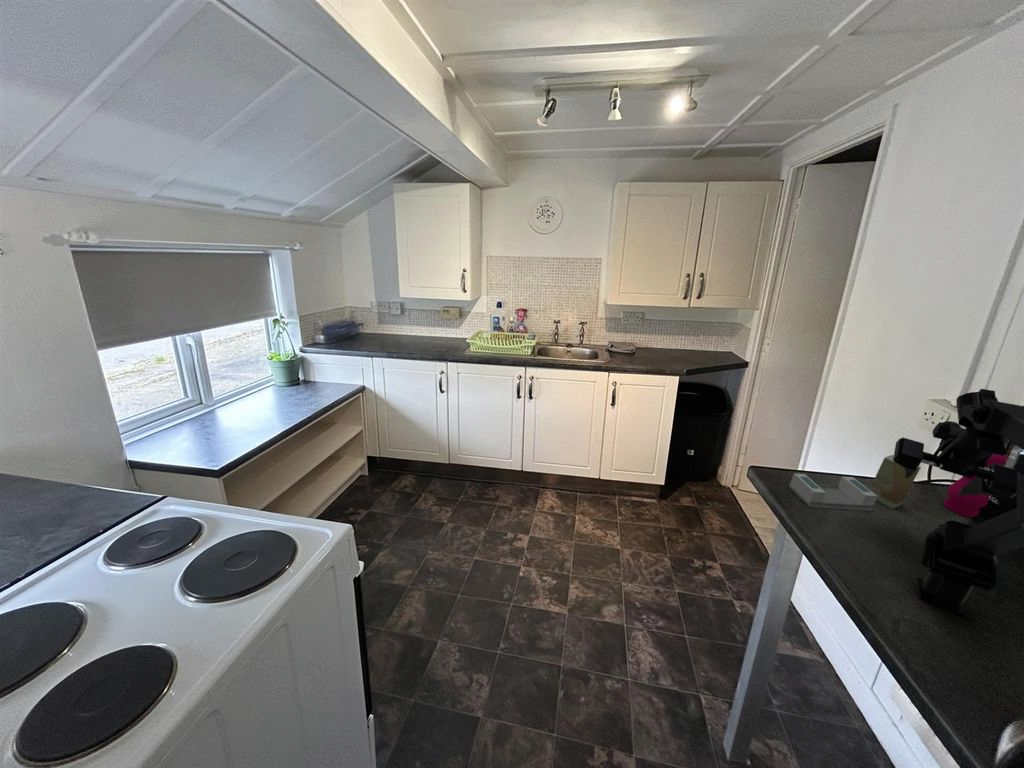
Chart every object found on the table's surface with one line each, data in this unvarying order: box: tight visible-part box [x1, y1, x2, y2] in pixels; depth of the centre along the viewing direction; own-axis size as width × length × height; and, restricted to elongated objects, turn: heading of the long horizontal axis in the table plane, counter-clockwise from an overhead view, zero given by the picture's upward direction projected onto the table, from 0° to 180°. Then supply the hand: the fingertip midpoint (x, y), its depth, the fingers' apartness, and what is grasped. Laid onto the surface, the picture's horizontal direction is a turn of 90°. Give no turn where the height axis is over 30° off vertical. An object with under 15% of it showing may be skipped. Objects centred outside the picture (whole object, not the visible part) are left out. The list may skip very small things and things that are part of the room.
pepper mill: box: [943, 454, 1008, 518], centre depth 104 cm, size 7×7×20 cm
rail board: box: [788, 481, 875, 512], centre depth 109 cm, size 16×9×1 cm, turn 88°
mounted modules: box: [790, 472, 878, 507], centre depth 108 cm, size 16×8×4 cm, turn 88°
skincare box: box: [868, 454, 922, 509], centre depth 108 cm, size 6×4×12 cm
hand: (932, 484), depth 93 cm, fingers open, 9 cm apart
